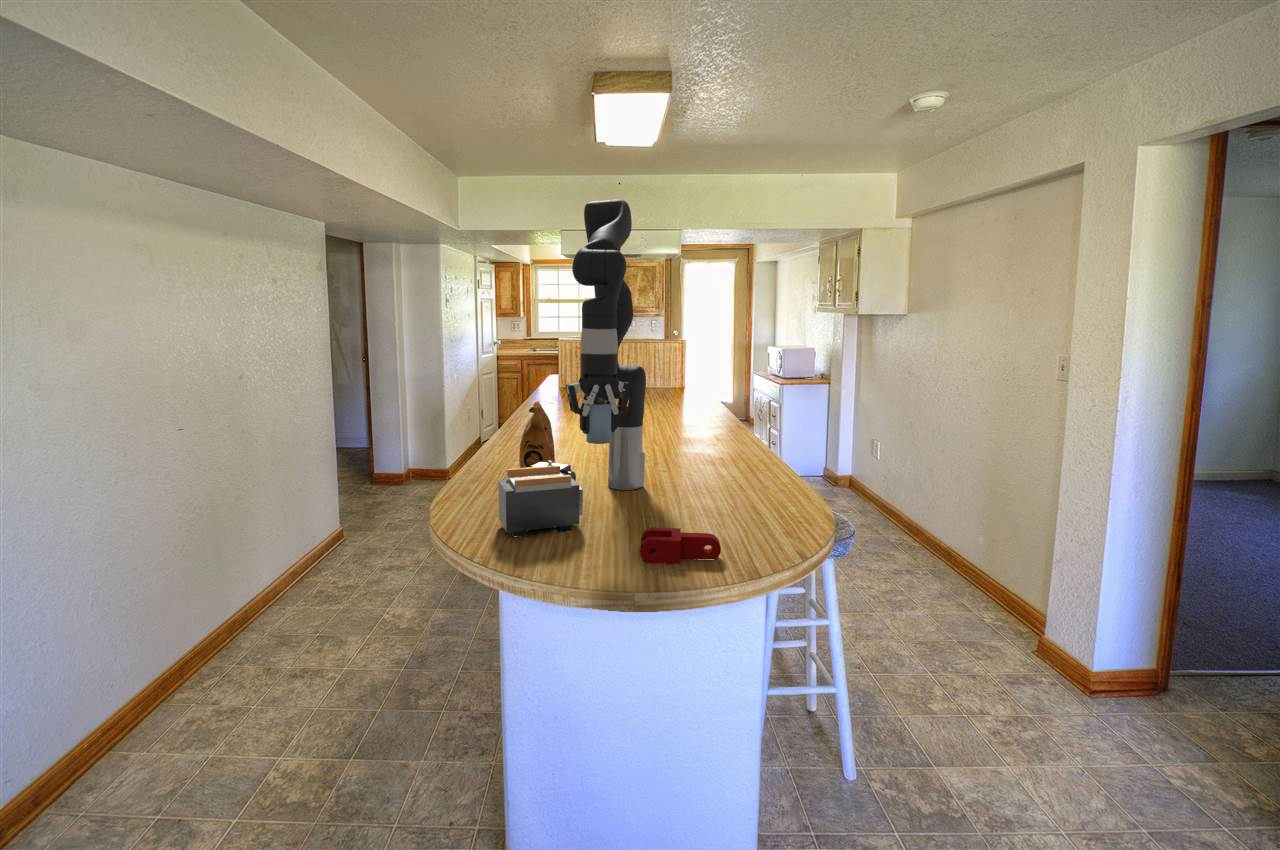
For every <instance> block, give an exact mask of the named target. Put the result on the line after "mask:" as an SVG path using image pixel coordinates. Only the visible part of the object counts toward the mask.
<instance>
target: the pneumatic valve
mask: <svg viewBox="0 0 1280 850" xmlns="http://www.w3.org/2000/svg"><path fill="white" fill-rule="evenodd" d="M555 465H560V472H561V473H562V474H563V475H571V478H572V479H573V480H575V481H576V480H577V474H576V472H575V471H572V470H573V469H572V465H571V464H563V463H555V464H554V463H552V461H548V463H545V462H536V463H534V464H532V465H530V466H529V467H541V466H555ZM576 482H577V481H576Z"/></svg>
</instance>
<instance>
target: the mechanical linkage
mask: <svg viewBox="0 0 1280 850" xmlns="http://www.w3.org/2000/svg"><path fill="white" fill-rule="evenodd" d="M706 546H710V548H709V549H706V548H705V547H706ZM721 552H722V547H721V542H720V540H719V538H718V537H717V536H716V535H715V534H713V533H709V532H703V533H702V532H682V530H681V528H678V527H648V528H646V529H645V530H644V531H643V532H642V534H641V538H640V546H639V556H640V558H641V559H642V561H643V562H645V563H646V564H668V565H671V564H672V565H681V560H686V559H690V560H689V561H691V560H692V561H698V560H697V559H715V560H717V559H718V558H719V556H720V555H721ZM694 559H696V560H694ZM686 561H687V560H686Z"/></svg>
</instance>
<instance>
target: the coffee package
mask: <svg viewBox="0 0 1280 850" xmlns="http://www.w3.org/2000/svg"><path fill="white" fill-rule="evenodd" d="M528 413H531V414H532V415H531V416H530V418H529V420H528V421H527V422H526V425H525V427H524V430H523V433H522V436H521V440H520V445H519V456H518V457H519V459H518V460H519V461H518V462H519V468H528V467H529V466H530V465H532V464H534V463H536V462H545V463H548V461H552V463H554V464H556V459H555V458H556V457H555V444H554V436H553V429H552V424H551V423H552V422H551V419H550V418H549V416H548V414H547V413H546V412H545V410H544V408H543V406H542V404H541V403H540V401H535V402H534V403H533V406H531V407H530V408H529V409H528Z"/></svg>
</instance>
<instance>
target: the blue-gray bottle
mask: <svg viewBox="0 0 1280 850" xmlns="http://www.w3.org/2000/svg"><path fill="white" fill-rule="evenodd" d="M611 407H612V405H611V404H609V403H607V402H605V400H604V397H598V399H597V401H593V404H592V406H590V409H589V412H588V415H587V416H589V433H588V434H585V436H586V439H585V441H586V443H588V444H593V445H602V444H603V445H605V444H609V443H610V442H611V415H612V408H611Z"/></svg>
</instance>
